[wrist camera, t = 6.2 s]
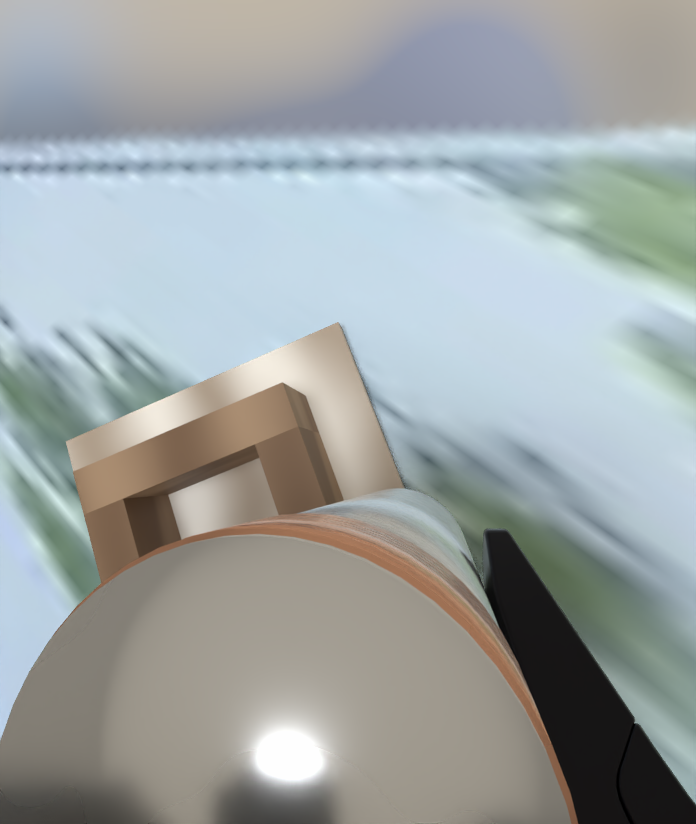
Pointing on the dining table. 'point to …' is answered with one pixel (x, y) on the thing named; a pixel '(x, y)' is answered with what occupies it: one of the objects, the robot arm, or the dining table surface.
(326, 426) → the socket
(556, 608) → the robot arm
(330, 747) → the grey topped cylinder
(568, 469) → the dining table surface
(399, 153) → the dining table surface
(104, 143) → the dining table surface
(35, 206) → the dining table surface
